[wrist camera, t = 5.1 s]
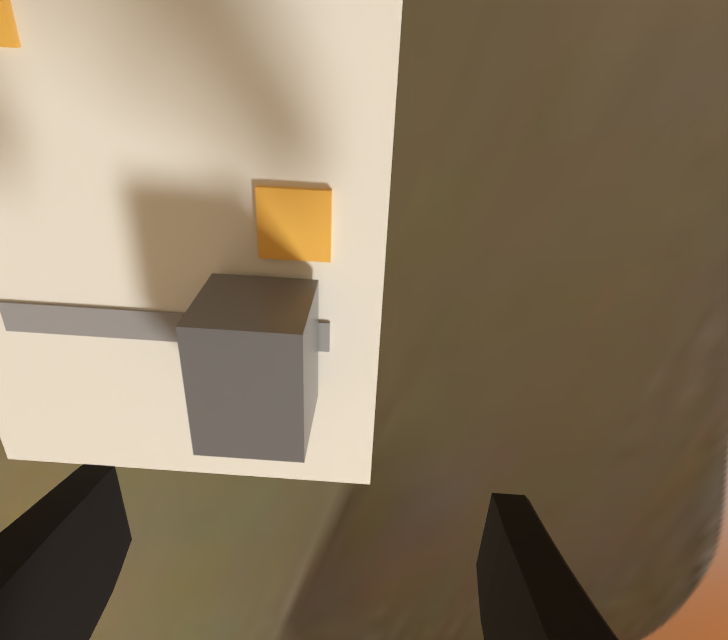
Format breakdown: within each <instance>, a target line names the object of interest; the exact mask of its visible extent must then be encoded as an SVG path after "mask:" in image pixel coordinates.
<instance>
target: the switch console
mask: <svg viewBox="0 0 728 640" xmlns="http://www.w3.org/2000/svg"><path fill="white" fill-rule="evenodd" d="M402 3H403V0H0V438H1V441H2V443H3V446H4V449H5V452H6V454H7V457H8V459H18V460H33V461H47V462H61V463H75V464H91V465H105V466H118V467H132V468H146V469H161V470H175V471H189V472H203V473H217V474H232V475H246V476H260V477H274V478H288V479H303V480H317V481H331V482H345V483H359V484H370V475H371V460H372V445H373V431H374V416H375V401H376V386H377V372H378V357H379V342H380V327H381V313H382V298H383V283H384V268H385V254H386V239H387V224H388V209H389V195H390V180H391V165H392V150H393V135H394V121H395V106H396V91H397V76H398V62H399V47H400V32H401V17H402ZM212 273H217V274H233V275H249V276H265V277H281V278H297V279H314V280H319V303H318V398H317V403H316V408H315V413H314V418H313V423H312V427H311V432H310V437H309V442H308V447H307V452H306V457H305V462H304V463H300V462H285V461H271V460H257V459H242V458H228V457H214V456H199V455H193V449H192V442H191V435H190V427H189V420H188V413H187V406H186V399H185V392H184V385H183V378H182V370H181V363H180V356H179V349H178V342H177V335H176V328H175V327H176V325H177V324H178V322H179V321H180V319H181V318H182V316H183V315H184V313H185V312H186V310H187V309H188V308H189V306H190V305H191V303H192V302H193V300H194V299H195V297H196V296H197V294H198V293H199V292H200V290H201V289H202V287H203V286H204V284H205V283H206V281H207V280H208V278H209V277H210V276H211V274H212Z"/></svg>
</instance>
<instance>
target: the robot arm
mask: <svg viewBox="0 0 728 640" xmlns="http://www.w3.org/2000/svg"><path fill="white" fill-rule="evenodd" d="M131 540H132V538H131V533H130V529H129V525H128V521H127V516H126V512H125V508H124V503H123V499H122V495H121V491H120V486H119V482H118V478H117V473H116V469H115V466H105V465H91V464H83V465H82V466H80V467H79V468H78V469H77V470H75V471H74V472H73V473H72V474H71V475H69V476H68V477H67V478H66V479H65V480H63V481H62V482H61V483H60V484H58V485H57V486H56V487H55V488H54V489H52V490H51V491H50V492H49V493H48V494H46V495H45V496H44V497H43V498H42V499H40V500H39V501H38V502H37V503H36V504H34V505H33V506H32V507H31V508H30V509H28V510H27V511H26V512H25V513H24V514H22V515H21V516H20V517H19V518H18V519H16V520H15V521H14V522H13V523H12V524H10V525H9V526H8V527H7V528H5V529H4V530H3V531H2V532H0V640H89V639H90V637H91V635H92V633H93V631H94V629H95V627H96V625H97V623H98V621H99V619H100V617H101V615H102V613H103V611H104V609H105V607H106V605H107V603H108V600H109V598H110V596H111V594H112V592H113V590H114V587H115V584H116V582H117V579H118V576H119V574H120V571H121V568H122V566H123V563H124V560H125V557H126V554H127V551H128V548H129V546H130V543H131ZM476 566H477V580H478V594H479V605H480V616H481V624H482V630H483V635H484V640H619V639H618V638H617V637H616V635H615V634H614V633H613V631H612V630H611V628H610V627H609V626H608V624H607V623H606V621H605V620H604V619H603V617H602V616H601V614H600V613H599V611H598V610H597V609H596V607H595V606H594V604H593V603H592V601H591V600H590V598H589V597H588V595H587V594H586V592H585V591H584V589H583V588H582V586H581V585H580V583H579V582H578V580H577V579H576V577H575V576H574V574H573V573H572V571H571V570H570V568H569V566H568V565H567V563H566V562H565V560H564V558H563V557H562V555H561V554H560V552H559V550H558V549H557V547H556V546H555V544H554V542H553V541H552V539H551V537H550V536H549V534H548V532H547V531H546V529H545V527H544V526H543V524H542V522H541V520H540V519H539V517H538V515H537V513H536V512H535V510H534V508H533V506H532V505H531V503H530V501H529V500H528V499H527V497H526V496H525V495H513V494H499V493H492V495H491V500H490V505H489V509H488V514H487V518H486V523H485V527H484V532H483V536H482V541H481V546H480V550H479V555H478V559H477V564H476Z"/></svg>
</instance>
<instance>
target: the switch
mask: <svg viewBox="0 0 728 640" xmlns="http://www.w3.org/2000/svg"><path fill="white" fill-rule="evenodd" d="M318 303H319V280H314V279H297V278H281V277H265V276H249V275H233V274H217V273H212V274H211V276H210V277H209V278H208V280H207V281H206V283H205V284H204V286H203V287H202V289H201V290H200V292H199V293H198V294H197V296H196V297H195V299H194V300H193V302H192V303H191V305H190V306H189V308H188V309H187V310H186V312H185V313H184V315H183V316H182V318H181V319H180V321H179V322H178V324H177V325H176V327H175V328H176V335H177V342H178V349H179V356H180V363H181V370H182V378H183V385H184V392H185V399H186V406H187V413H188V420H189V427H190V435H191V442H192V449H193V455H199V456H214V457H228V458H242V459H257V460H271V461H285V462H300V463H304V462H305V457H306V452H307V447H308V442H309V437H310V432H311V427H312V423H313V418H314V413H315V408H316V403H317V398H318Z"/></svg>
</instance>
